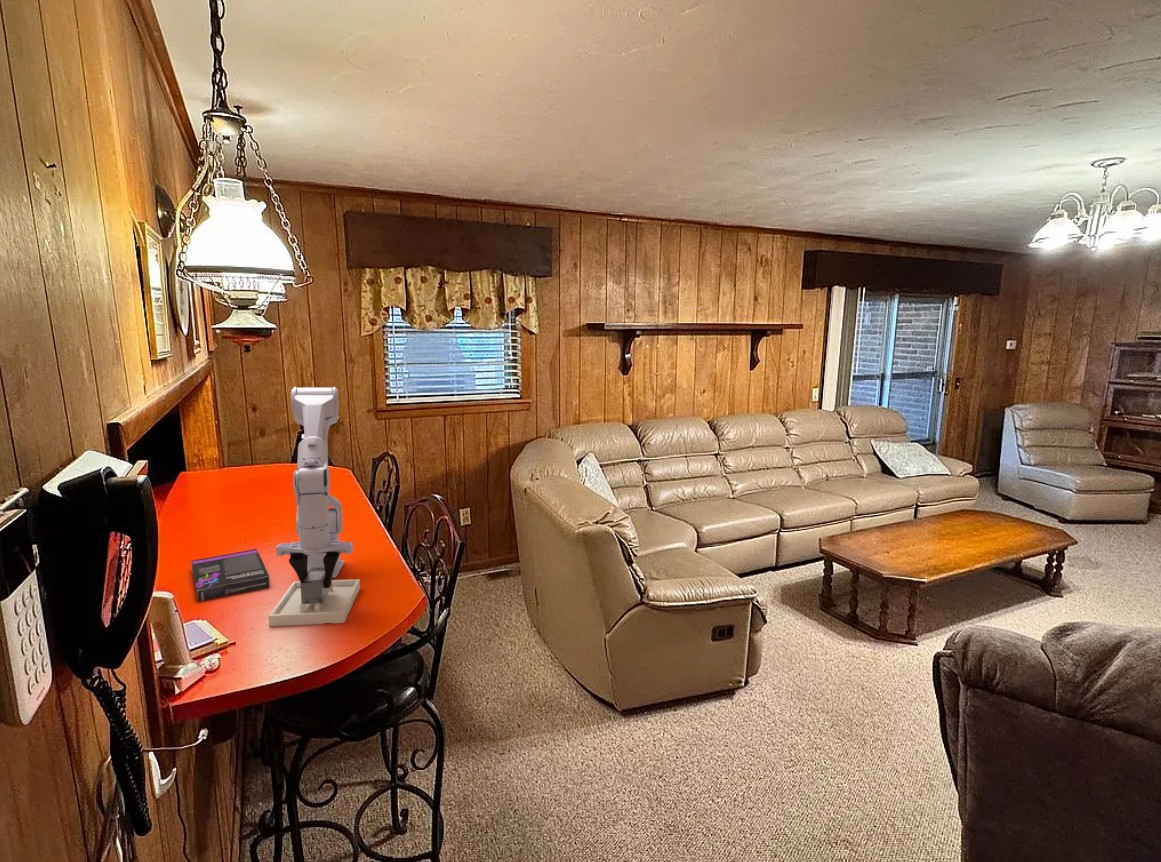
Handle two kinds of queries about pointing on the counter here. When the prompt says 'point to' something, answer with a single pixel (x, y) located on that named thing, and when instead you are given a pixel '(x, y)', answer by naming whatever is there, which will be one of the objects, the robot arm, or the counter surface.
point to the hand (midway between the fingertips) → (316, 586)
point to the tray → (315, 605)
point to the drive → (314, 586)
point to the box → (229, 574)
